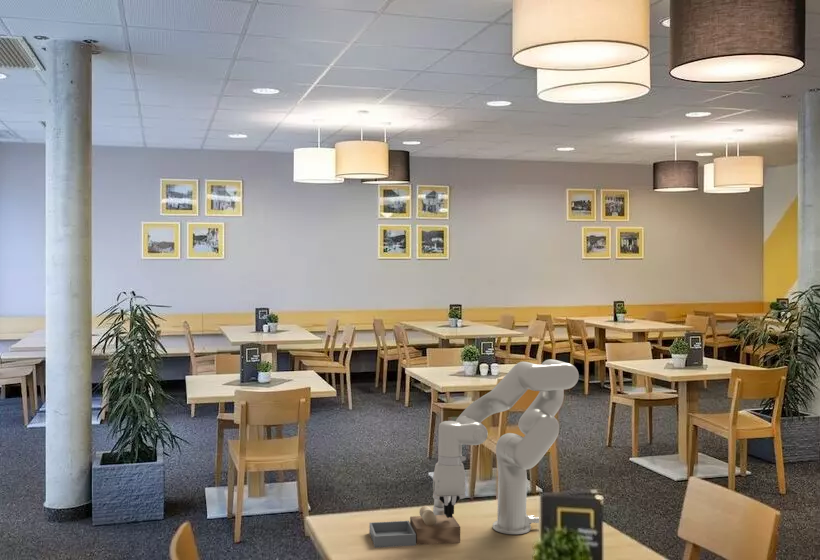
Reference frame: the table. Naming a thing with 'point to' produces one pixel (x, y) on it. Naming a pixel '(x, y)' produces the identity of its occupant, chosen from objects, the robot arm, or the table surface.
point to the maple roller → (428, 516)
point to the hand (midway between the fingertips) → (448, 516)
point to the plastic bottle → (439, 506)
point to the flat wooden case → (436, 530)
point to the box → (392, 534)
